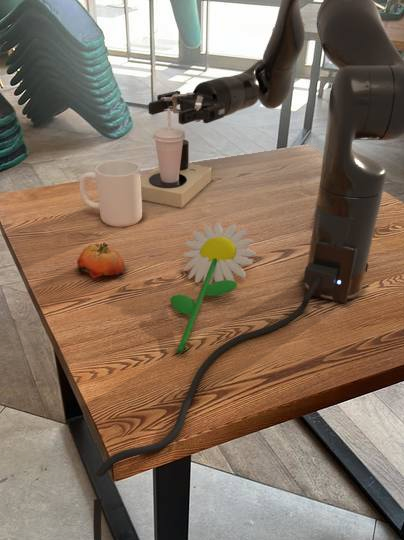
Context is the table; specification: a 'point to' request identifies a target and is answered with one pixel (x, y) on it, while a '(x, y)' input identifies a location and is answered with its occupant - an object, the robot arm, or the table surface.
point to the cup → (116, 192)
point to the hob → (178, 195)
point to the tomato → (101, 260)
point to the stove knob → (185, 155)
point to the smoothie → (169, 151)
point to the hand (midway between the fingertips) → (164, 113)
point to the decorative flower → (212, 267)
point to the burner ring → (157, 182)
